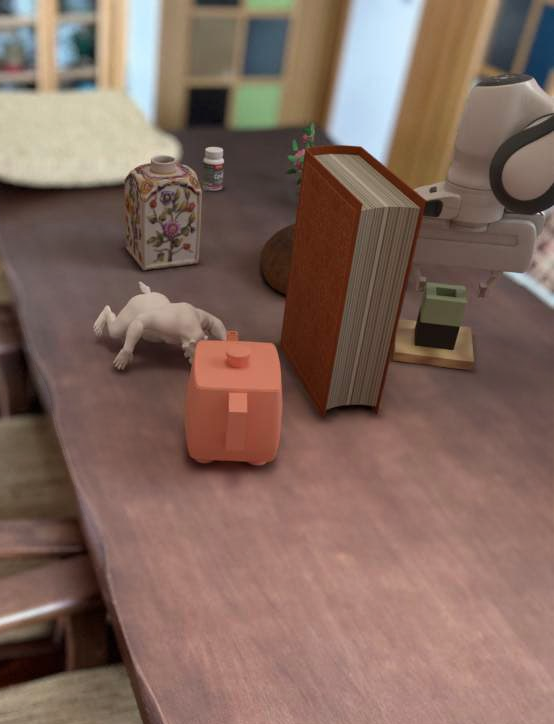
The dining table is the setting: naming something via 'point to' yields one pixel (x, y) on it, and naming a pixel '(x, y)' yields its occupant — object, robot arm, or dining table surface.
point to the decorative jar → (163, 214)
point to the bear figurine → (158, 324)
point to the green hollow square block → (443, 304)
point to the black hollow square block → (435, 335)
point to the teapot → (234, 401)
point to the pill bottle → (213, 168)
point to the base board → (432, 349)
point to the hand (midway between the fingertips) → (450, 293)
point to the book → (348, 274)
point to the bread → (279, 258)
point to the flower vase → (299, 157)
